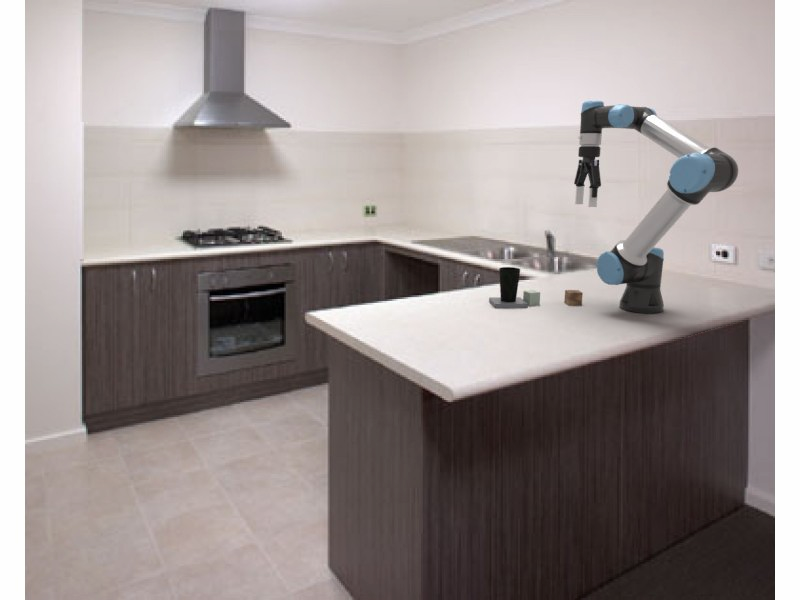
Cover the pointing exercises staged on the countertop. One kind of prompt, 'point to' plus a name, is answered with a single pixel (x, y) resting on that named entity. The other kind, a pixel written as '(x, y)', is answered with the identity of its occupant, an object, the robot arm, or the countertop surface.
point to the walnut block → (573, 297)
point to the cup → (509, 283)
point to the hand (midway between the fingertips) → (585, 205)
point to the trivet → (508, 303)
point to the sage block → (532, 297)
